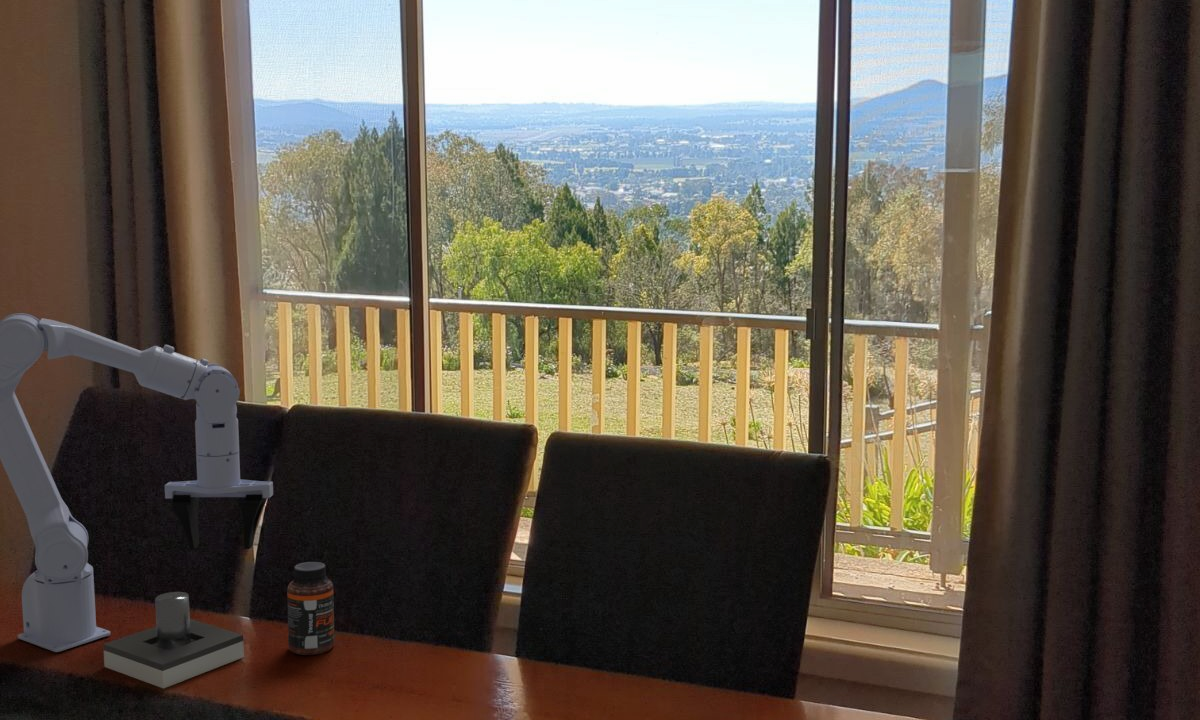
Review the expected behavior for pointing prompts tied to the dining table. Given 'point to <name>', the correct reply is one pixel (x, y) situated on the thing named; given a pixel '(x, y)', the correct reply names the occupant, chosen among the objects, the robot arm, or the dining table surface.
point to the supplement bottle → (310, 610)
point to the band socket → (173, 654)
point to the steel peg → (173, 620)
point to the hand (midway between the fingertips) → (221, 547)
